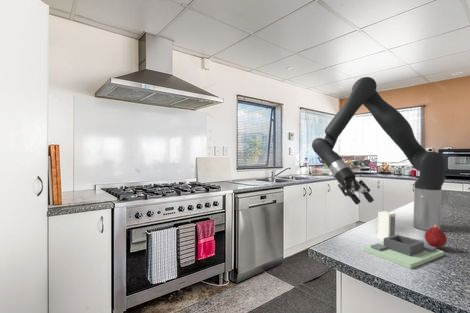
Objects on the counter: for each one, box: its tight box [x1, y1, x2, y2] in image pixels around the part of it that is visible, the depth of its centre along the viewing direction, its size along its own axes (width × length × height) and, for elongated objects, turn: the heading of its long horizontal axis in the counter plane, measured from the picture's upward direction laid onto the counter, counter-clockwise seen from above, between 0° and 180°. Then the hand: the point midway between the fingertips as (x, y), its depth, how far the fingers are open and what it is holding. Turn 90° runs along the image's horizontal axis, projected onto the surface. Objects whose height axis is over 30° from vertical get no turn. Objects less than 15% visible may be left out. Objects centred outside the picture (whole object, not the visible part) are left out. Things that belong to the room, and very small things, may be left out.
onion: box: [424, 225, 448, 250], centre depth 83 cm, size 6×6×8 cm
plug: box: [377, 210, 396, 241], centre depth 92 cm, size 4×5×10 cm
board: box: [363, 234, 445, 270], centre depth 79 cm, size 20×14×4 cm
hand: (365, 202), depth 99 cm, fingers open, 8 cm apart
